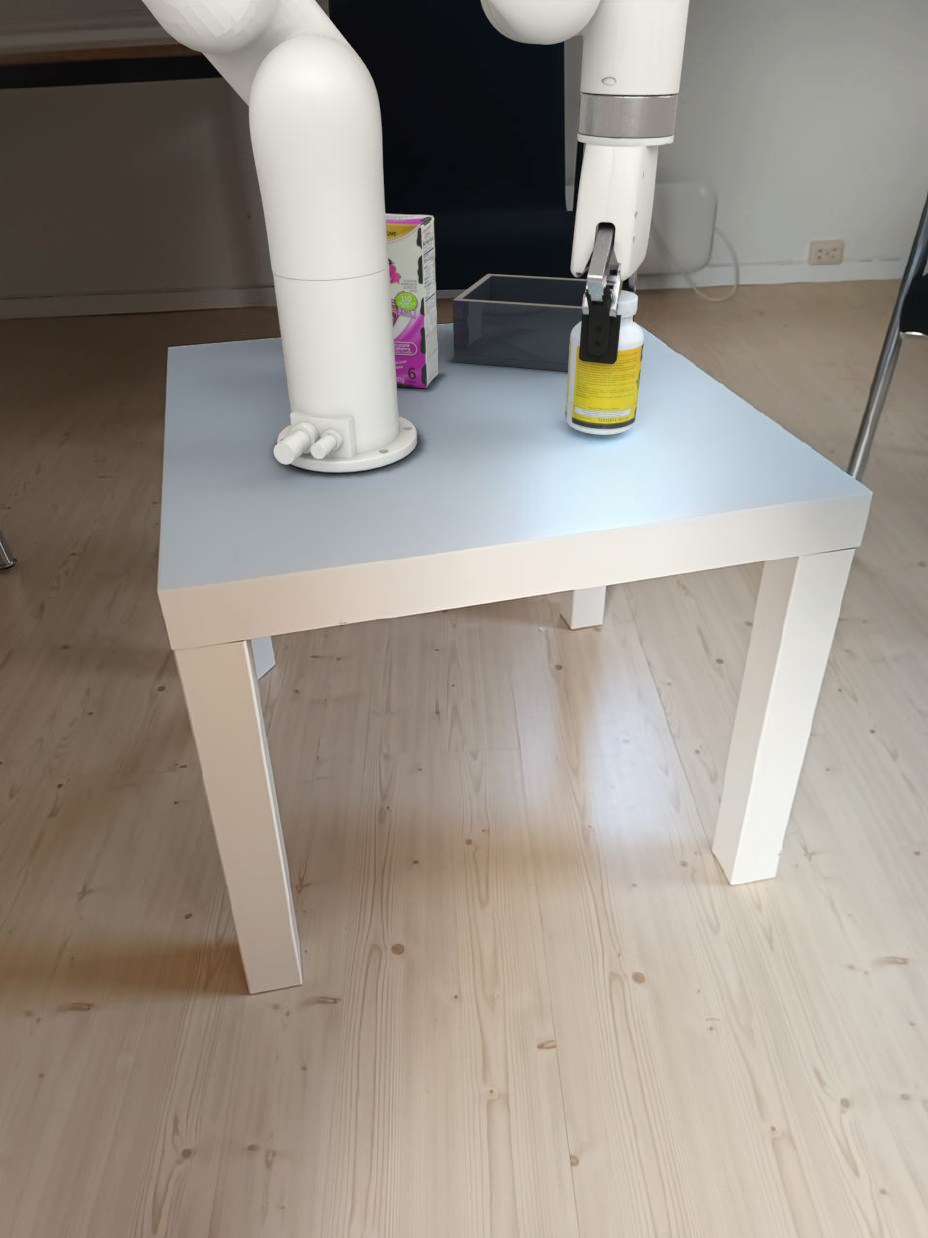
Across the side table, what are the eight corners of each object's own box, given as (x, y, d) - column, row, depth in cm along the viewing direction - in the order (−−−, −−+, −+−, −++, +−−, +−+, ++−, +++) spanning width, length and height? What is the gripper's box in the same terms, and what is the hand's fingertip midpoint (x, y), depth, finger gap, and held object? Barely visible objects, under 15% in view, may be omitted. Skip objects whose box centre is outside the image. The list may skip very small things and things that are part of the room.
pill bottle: (639, 438, 83) (654, 305, 76) (566, 437, 83) (576, 304, 76) (629, 412, 88) (643, 286, 82) (561, 411, 88) (570, 285, 82)
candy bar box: (327, 384, 99) (310, 219, 90) (344, 369, 103) (329, 210, 94) (428, 390, 96) (420, 221, 87) (441, 375, 100) (435, 212, 91)
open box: (590, 373, 100) (593, 309, 96) (454, 361, 104) (452, 299, 100) (612, 340, 110) (616, 280, 106) (487, 330, 114) (487, 273, 110)
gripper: (601, 110, 80) (585, 320, 89) (552, 128, 66) (539, 374, 76) (689, 113, 78) (663, 327, 87) (657, 132, 64) (630, 385, 74)
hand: (606, 347), depth 81 cm, fingers closed on pill bottle, 6 cm apart
